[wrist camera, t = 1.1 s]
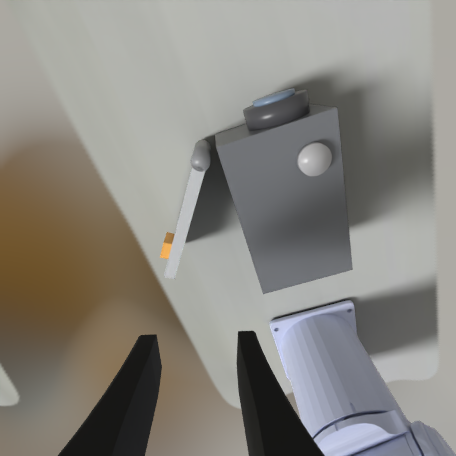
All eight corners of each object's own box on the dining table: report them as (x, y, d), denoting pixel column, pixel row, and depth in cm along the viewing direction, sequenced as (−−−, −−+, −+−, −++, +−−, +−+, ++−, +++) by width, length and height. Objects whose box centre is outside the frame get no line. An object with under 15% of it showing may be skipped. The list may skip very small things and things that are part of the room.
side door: (182, 248, 20) (176, 279, 17) (164, 243, 20) (155, 274, 16) (212, 142, 16) (212, 155, 13) (190, 135, 16) (185, 147, 13)
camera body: (325, 235, 21) (356, 274, 16) (253, 256, 21) (264, 299, 17) (302, 81, 16) (339, 77, 11) (208, 114, 16) (207, 122, 12)
